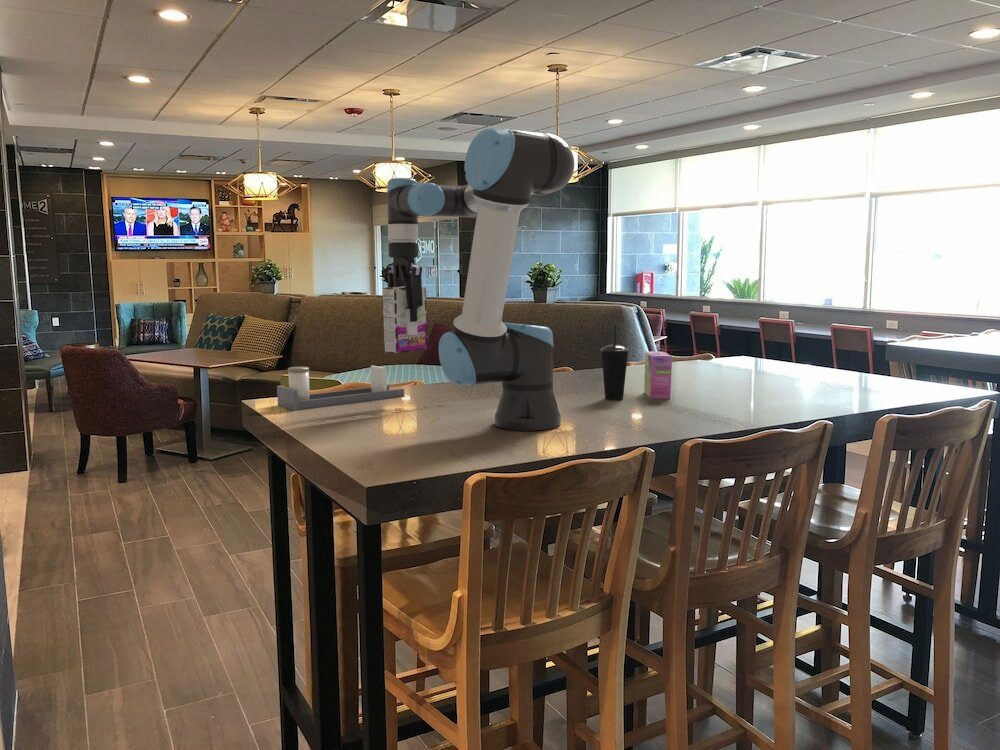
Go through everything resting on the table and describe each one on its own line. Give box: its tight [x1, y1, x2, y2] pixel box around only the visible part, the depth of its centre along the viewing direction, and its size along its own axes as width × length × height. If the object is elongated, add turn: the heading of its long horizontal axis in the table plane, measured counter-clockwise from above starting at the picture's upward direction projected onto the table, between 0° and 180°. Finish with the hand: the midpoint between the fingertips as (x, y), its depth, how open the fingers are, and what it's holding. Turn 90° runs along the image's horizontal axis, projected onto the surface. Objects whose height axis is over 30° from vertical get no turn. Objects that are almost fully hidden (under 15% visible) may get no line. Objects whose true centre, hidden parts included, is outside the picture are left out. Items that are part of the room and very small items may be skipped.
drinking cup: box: [600, 324, 630, 401], centre depth 214 cm, size 8×8×20 cm
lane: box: [276, 384, 406, 412], centre depth 209 cm, size 10×32×6 cm, turn 128°
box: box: [643, 351, 673, 400], centre depth 219 cm, size 10×6×12 cm, turn 179°
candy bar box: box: [382, 285, 428, 354], centre depth 202 cm, size 11×5×16 cm, turn 142°
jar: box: [287, 366, 311, 401], centre depth 201 cm, size 5×5×10 cm
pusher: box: [370, 365, 388, 392], centre depth 216 cm, size 7×4×8 cm, turn 38°
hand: (405, 333), depth 202 cm, fingers closed on candy bar box, 6 cm apart
